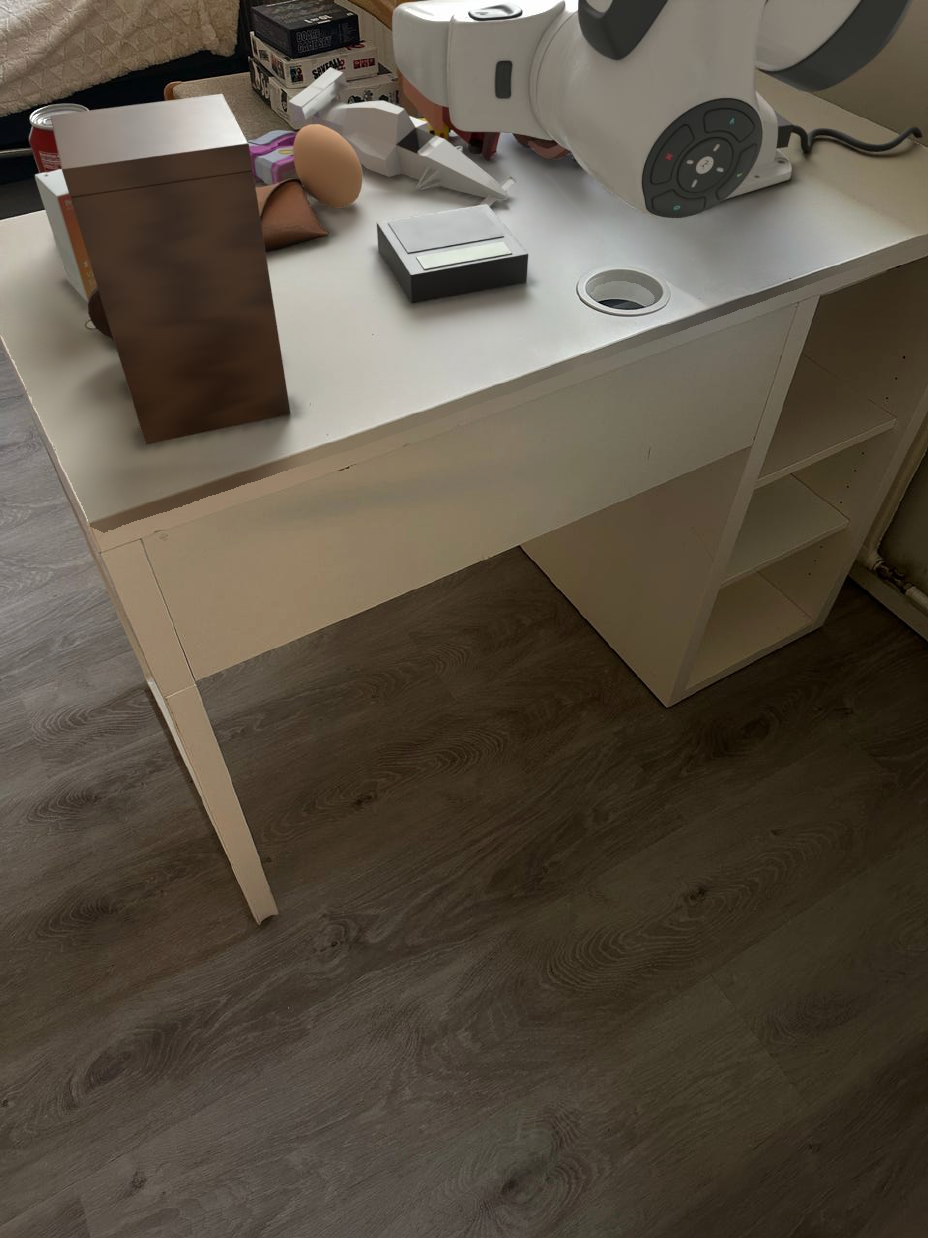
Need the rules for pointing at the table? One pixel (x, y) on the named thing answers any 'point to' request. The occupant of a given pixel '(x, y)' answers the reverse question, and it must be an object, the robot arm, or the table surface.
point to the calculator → (451, 253)
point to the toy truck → (474, 138)
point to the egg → (327, 166)
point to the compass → (98, 314)
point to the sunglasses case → (287, 215)
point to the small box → (66, 231)
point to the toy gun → (273, 157)
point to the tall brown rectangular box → (178, 260)
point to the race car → (394, 140)
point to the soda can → (48, 135)
